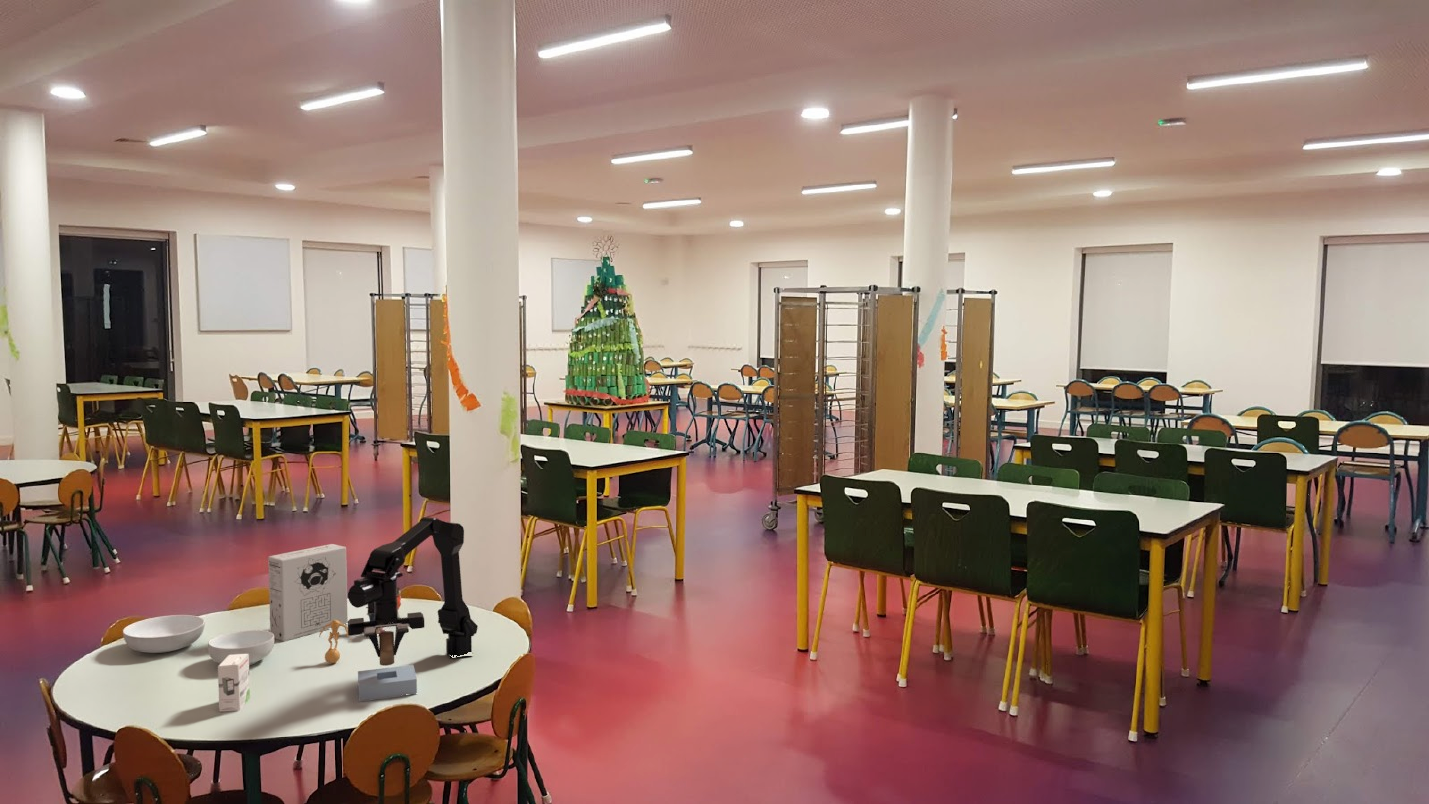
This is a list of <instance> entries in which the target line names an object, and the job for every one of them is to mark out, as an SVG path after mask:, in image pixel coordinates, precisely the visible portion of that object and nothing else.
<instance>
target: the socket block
mask: <svg viewBox="0 0 1429 804" xmlns="http://www.w3.org/2000/svg"><path fill="white" fill-rule="evenodd" d="M414 665H415V664H411V665H410V664H409V665H401V666H392V667H383V668H375V669H366V670H359V671H357V686H358V687H357V689H358V699H359V700H358V701H359V702H365V701H366V702H367V701H373V700H382V699H389V698H390V699H391V698H396V696H398V697H402V696H401V695H406V694H414V695H417V694H416V693H418V687H417V686H418V685H417V684H418V683H417V682H418V681H417V675H416V670H415V666H414ZM406 696H407V695H406Z"/></svg>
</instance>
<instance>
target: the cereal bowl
mask: <svg viewBox="0 0 1429 804" xmlns="http://www.w3.org/2000/svg"><path fill="white" fill-rule="evenodd" d="M274 644H275V638H274V634H273V633H271V632H270V631H267V630H263V629H262V630H260V629H249V630H248V629H247V630H237V631H233V632H232V631H231V632H228V633H227V632H226V633H223V634H220V635H217V636H214V637H212V638H211V639H210V640H209V641H208V642H207V650H208V655H209V657H210V658H211V659H212V660H213V661H214V662H216V663H218V664H219V665H220V664H221V663H222V662H223V661H224V660H225V659H226V658H227V657H228V656H229V655H235V654H249V667H250V666H253V665H254V664H255V665H256V663H257V662H258V661H261V660H263V659H264V658H266V657H268V656H269V655H270V654H271V652H272V650H273V649H274V646H275V645H274Z"/></svg>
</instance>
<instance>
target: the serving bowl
mask: <svg viewBox="0 0 1429 804" xmlns="http://www.w3.org/2000/svg"><path fill="white" fill-rule="evenodd" d="M205 625H206V621H205V619H204V618H203V617H200V616H196V615H190V614H173V615H163V616H157V617H156V616H155V617H151V618H146V619H142V620H139V621H135V622H133V623H131V624H129V625H127V626H125V627H124V628H123V629H122V635H123V639H124V642H125V643H126V645H128V647H130V648H131V649H133V650H134V651H137V652H142V653H149V654H151V653H152V654H164V653H169V652H170V653H171V652H174V651H178V650H181V649H184V648H186V647H188V646H191V645H192V644H194V643H195V642H197V641H198V640H199V638H201V636H202V634H203V632H204V630H205Z"/></svg>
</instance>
